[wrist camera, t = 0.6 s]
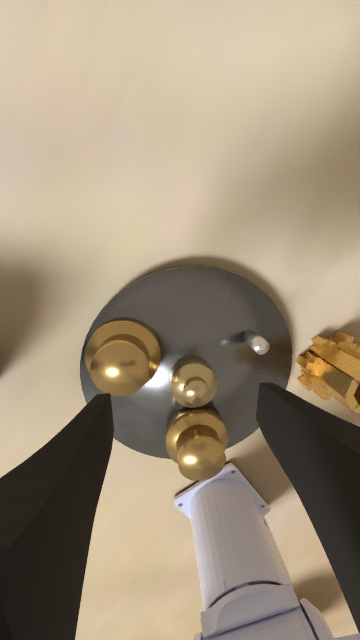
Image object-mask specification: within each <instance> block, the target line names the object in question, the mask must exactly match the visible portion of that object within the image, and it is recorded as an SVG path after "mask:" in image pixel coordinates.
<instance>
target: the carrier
mask: <svg viewBox="0 0 360 640" xmlns="http://www.w3.org/2000/svg"><path fill="white" fill-rule="evenodd" d="M291 364H292V348H291V340H290V336H289V332H288V329H287V326H286V323H285V321H284V319H283V317H282V315H281V313H280V312H279V310H278V309H277V307H276V306H275V304H274V303H273V302H272V301H271V300H270V298H269V297H268V296H267V295H266V294H265V293H264V292H262V291H261V290H260V289H259V288H258V287H256V286H255V285H254V284H252V283H250V282H249V281H247V280H245V279H244V278H242V277H239V276H237V275H235V274H232V273H230V272H227V271H223V270H219V269H215V268H211V267H203V266H179V267H173V268H167V269H163V270H160V271H157V272H153V273H151V274H148V275H146V276H144V277H142V278H139V279H138V280H136V281H134V282H133V283H131V284H129V285H128V286H126V287H125V288H124V289H122V290H121V291H120V292H119V293H118V294H116V295H115V296H114V297H113V298H112V299H111V300H110V301H109V302H108V304H107V305H106V306H105V307H104V308H103V309H102V310H101V312H100V313H99V315H98V316H97V318H96V319H95V321H94V322H93V324H92V326H91V328H90V330H89V332H88V334H87V336H86V339H85V343H84V346H83V349H82V355H81V361H80V378H81V385H82V390H83V393H84V397H85V400H86V402H87V404H88V403H89V402H90V401H91V400H92V399H93V398H94V397H95V396H96V394H105V393H110V394H111V404H112V413H113V423H114V435H113V437H114V438H115V439H116V440H117V441H119V442H121V443H122V444H124V445H125V446H127V447H129V448H131V449H133V450H136V451H138V452H141V453H144V454H147V455H150V456H155V457H160V458H168V459H172V460H173V461H175V462H176V463H178V465H179V470H180V472H181V474H182V475H183V476H184V477H186V478H188V479H190V480H194V481H204V480H208V479H210V478H213V477H214V476H216V475H217V474H219V473H220V472H221V470H222V469H223V468H224V466H225V462H226V456H225V453H224V451H225V449H227V448H229V447H232V446H233V445H235V444H237V443H239V442H240V441H242V440H244V439H245V438H246V437H248V436H249V435H251V434H252V433H253V432H254V431H256V430H257V429H258V428H259V424H258V422H257V420H256V411H257V402H258V392H259V383H269V382H272V383H274V384H276V385H278V386H280V387H282V388H284V389H286V387H287V384H288V380H289V376H290V371H291Z"/></svg>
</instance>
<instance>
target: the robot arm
mask: <svg viewBox="0 0 360 640" xmlns="http://www.w3.org/2000/svg"><path fill="white" fill-rule="evenodd" d="M256 420H257V422H258V424H259V427H260V429H261V431H262V433H263V436H264V438H265V439H266V441H267V443H268V445H269V446H270V448H271V450H272V451H273V453H274V455H275V456H276V458H277V460H278V461H279V463H280V465H281V466H282V468H283V470H284V471H285V473H286V475H287V476H288V478H289V479H290V481H291V483H292V485H293V486H294V488H295V490H296V492H297V494H298V495H299V497H300V499H301V502H302V504H303V506H304V508H305V510H306V512H307V514H308V516H309V518H310V520H311V522H312V524H313V526H314V528H315V531H316V533H317V535H318V537H319V539H320V541H321V544H322V546H323V548H324V550H325V552H326V555H327V557H328V559H329V562H330V564H331V566H332V569H333V571H334V573H335V575H336V578H337V580H338V582H339V585H340V587H341V589H342V592H343V594H344V597H345V599H346V602H347V604H348V607H349V609H350V611H351V614H352V616H353V619H354V621H355V624H356V626H357V629H358V631H359V634H354V635H349V636H344V637H339V638H334V637H333V635H332V633H331V631H330V629H329V627H328V625H327V623H326V621H325V620H324V618H323V616H322V615H321V613H320V612H319V610H318V609H317V608H316V607H314V606H313V605H312V604H310V602H309V601H308V600H307V599H305V598H303V599H301V600H299V601H298V599H297V597H296V594H295V592H294V589H293V587H292V583H291V579H290V576H289V573H288V571H287V569H286V566H285V564H284V561H283V559H282V557H281V554H280V552H279V550H278V547H277V545H276V542H275V540H274V538H273V535H272V533H271V531H270V528H269V526H268V523H267V521H266V519H265V516H264V515H265V514H267V513H268V512H269V511H270V508H269V506H268V504H267V503H266V502H265V501H264V500H263V498H262V497H261V496H260V495H259V494H258V492H257V491H256V490H255V489H254V488H253V487H252V485H251V484H250V483H249V482H248V481H247V479H246V478H245V477H244V476H243V475H242V473H241V472H240V471H239V470H238V469H237V467H236V466H235V465H234V464H233V463H228V464H227V465H225V466H224V468H223V469H222V470H221V472H220V473H219V474H217V475H216V476H214V477H213V478H210V479H208V480H204V481H199V482H198V483H196V484H195V485H193V486H191V487H190V488H188V489H187V490H185V491H183V492H182V493H180V494H179V495H177V496H175V497H174V499H173V503H174V505H175V506H177V507H178V508H179V509H180V510H181V511H182V512H183V513H184V514H185V515H186V516H187V517H188V518H189V519H190V520H191V524H192V531H193V538H194V545H195V552H196V559H197V566H198V573H199V580H200V587H201V594H202V601H203V608H204V611H203V612H201V613H200V619H201V626H202V632H201V633H198V634H196V635H195V637H194V640H360V427H359V426H356V425H354V424H352V423H349V422H347V421H345V420H343V419H340V418H338V417H336V416H334V415H332V414H330V413H328V412H326V411H324V410H322V409H320V408H318V407H316V406H314V405H313V404H311V403H309V402H307V401H305V400H303V399H302V398H300V397H298V396H296V395H294V394H293V393H291V392H289V391H287V390H285V389H284V388H282V387H280V386H278V385H276V384H274V383H272V382H269V383H259V392H258V402H257V411H256ZM113 435H114V423H113V413H112V404H111V394H110V393H105V394H96V396H95V397H94V398H93V399H92V400H91V401H90V402H89V403H88V404H87V405H86V406H85V407H84V408H83V409H82V410H81V411H80V412H79V413H78V414H77V415H76V416H75V417H74V418H73V419H72V420H71V421H70V422H69V423H68V424H67V425H66V426H65V427H64V428H63V429H62V430H61V431H60V432H59V433H58V434H57V435H56V436H55V437H53V438H52V439H51V440H50V441H49V442H48V443H47V444H45V445H44V446H43V447H42V448H41V449H39V450H38V451H37V452H36V453H34V454H33V455H32V456H31V457H29V458H28V459H27V460H25V461H24V462H23V463H21V464H20V465H18V466H17V467H16V468H14V469H13V470H11V471H10V472H8V473H7V474H6V475H4V476H3V477H1V478H0V640H75V635H76V628H77V621H78V615H79V608H80V601H81V595H82V588H83V582H84V575H85V569H86V563H87V557H88V551H89V545H90V539H91V533H92V528H93V522H94V517H95V513H96V508H97V504H98V500H99V496H100V493H101V489H102V485H103V481H104V477H105V474H106V470H107V466H108V462H109V458H110V454H111V449H112V442H113Z"/></svg>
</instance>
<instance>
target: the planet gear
mask: <svg viewBox="0 0 360 640" xmlns="http://www.w3.org/2000/svg"><path fill="white" fill-rule="evenodd" d="M354 338H355V337H353V336H351V335H349V334H346V333H344V332H339V331H336V334H335V336H334V337H329V338H328V339H327V338H324V339H323V338H321V337H319V336H316V337H315V338H313V339H312V342H313V344H314V345H313V346H311V347H310V348H309V349H310V350H311V352H308V351H306V354H305V356H298V359H297V363H298V364H300V365H301V368H302V369H303V370H302V371H301V372H302V374H303V375H302V376H301V377H299V378H298V380H299V382H300V384H301V385H303V386H304V387H305V388H306V389H307V390H308V391H311V390H312V389H314V392H315V393H316V394H317V395H318V396H319V397H320V398H322V399H323V400H329V399H330V396H331V395H332V396H333V397H335V398H336V399H337V400H338V401H340V402H341V403H342V404H343V405H345V406H346V407H347V408H348V409H349V410H351V411H352V412H356V413H360V343H358V342H356V341H355V342H354V343H353V340H354Z"/></svg>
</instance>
